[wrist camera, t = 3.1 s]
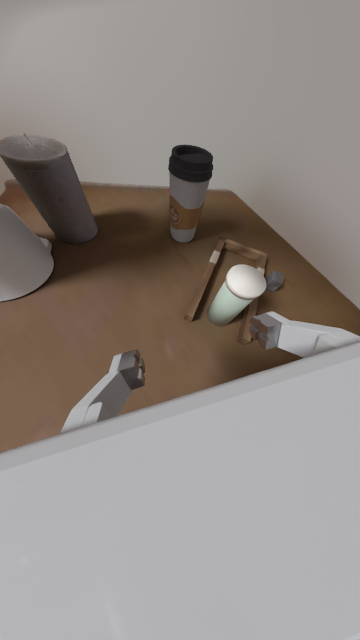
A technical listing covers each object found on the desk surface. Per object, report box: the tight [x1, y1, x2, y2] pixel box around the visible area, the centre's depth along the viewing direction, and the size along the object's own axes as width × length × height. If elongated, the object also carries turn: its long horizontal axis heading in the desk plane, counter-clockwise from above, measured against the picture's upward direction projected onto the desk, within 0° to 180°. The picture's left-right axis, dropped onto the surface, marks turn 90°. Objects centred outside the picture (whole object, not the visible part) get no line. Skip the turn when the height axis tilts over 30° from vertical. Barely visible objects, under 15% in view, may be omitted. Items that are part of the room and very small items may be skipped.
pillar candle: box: [0, 133, 98, 244], centre depth 28 cm, size 10×10×15 cm
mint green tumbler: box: [207, 265, 266, 326], centre depth 24 cm, size 5×5×11 cm
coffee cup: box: [169, 145, 213, 243], centre depth 32 cm, size 8×8×15 cm
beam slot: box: [184, 237, 284, 345], centre depth 31 cm, size 16×25×3 cm, turn 157°
